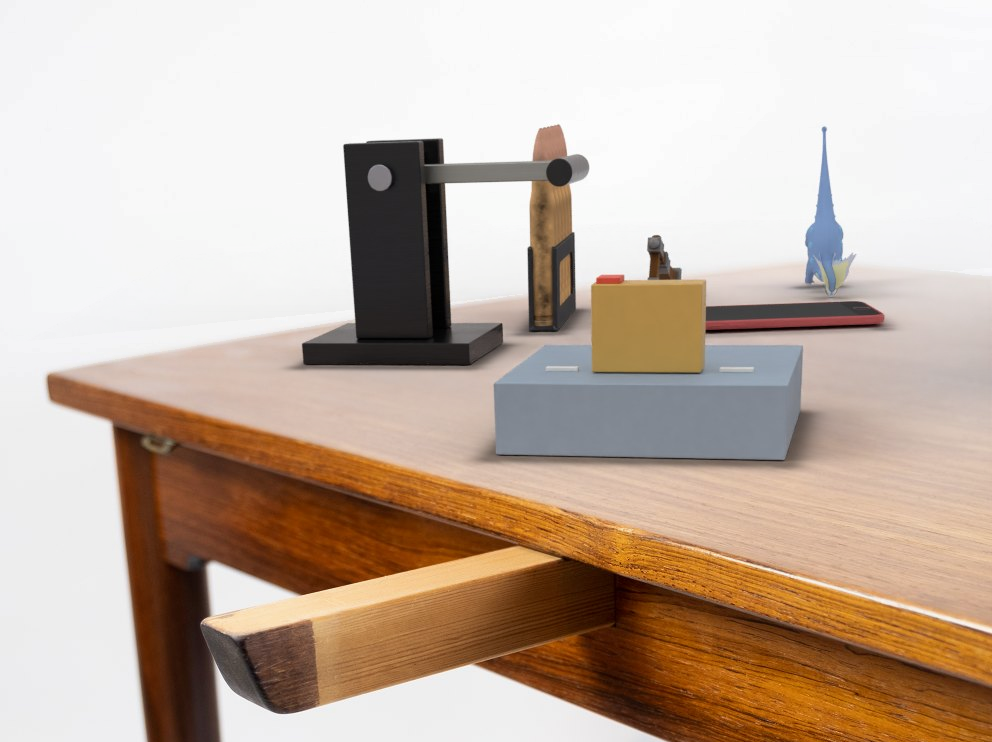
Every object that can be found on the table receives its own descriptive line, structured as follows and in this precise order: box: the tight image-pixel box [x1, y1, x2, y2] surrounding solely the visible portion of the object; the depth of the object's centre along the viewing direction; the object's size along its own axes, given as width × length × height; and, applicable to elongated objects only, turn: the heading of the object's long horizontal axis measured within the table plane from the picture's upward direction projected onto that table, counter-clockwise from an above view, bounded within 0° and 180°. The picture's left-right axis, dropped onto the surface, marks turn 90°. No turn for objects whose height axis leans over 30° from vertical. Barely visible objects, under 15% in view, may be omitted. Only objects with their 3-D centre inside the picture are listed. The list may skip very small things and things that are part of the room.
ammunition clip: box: [526, 123, 577, 332], centre depth 98 cm, size 11×2×12 cm, turn 170°
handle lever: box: [424, 153, 590, 187], centre depth 85 cm, size 12×5×2 cm, turn 75°
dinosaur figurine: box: [804, 126, 857, 298], centre depth 109 cm, size 3×15×10 cm
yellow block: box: [590, 274, 707, 373], centre depth 63 cm, size 5×1×4 cm, turn 75°
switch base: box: [493, 344, 804, 461], centre depth 66 cm, size 12×10×3 cm
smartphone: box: [705, 300, 885, 331], centre depth 95 cm, size 7×1×14 cm
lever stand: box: [301, 137, 504, 366], centre depth 88 cm, size 10×8×12 cm
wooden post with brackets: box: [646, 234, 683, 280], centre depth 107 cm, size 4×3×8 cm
